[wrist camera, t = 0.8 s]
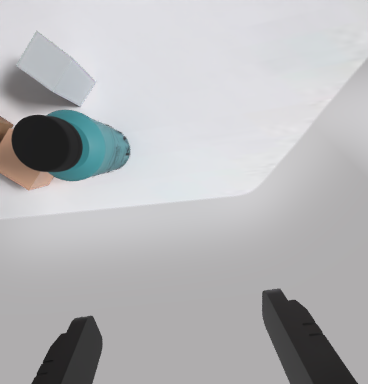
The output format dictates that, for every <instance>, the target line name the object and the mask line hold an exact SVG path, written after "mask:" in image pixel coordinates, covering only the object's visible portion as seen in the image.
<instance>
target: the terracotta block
mask: <svg viewBox="0 0 368 384" xmlns="http://www.w3.org/2000/svg"><path fill="white" fill-rule="evenodd" d="M13 130H14V129H12V128H9V130H8V131H7V133H6V135H5V136H4V138H3V140H2V141H1V143H0V173H1V174H3V175H4V176H6V177H7V178H9V179H11V180H12V181H14V182H16V183H17V184H19V185H21V186H22V187H24V188H26V189H27V190H32V189H36V188H39V187H43V186H47V185H49V183H50V182H51V180H52V179H53V177H54V176H52V175H51V174H49V173H48V172H40V171H36V170H33V169H31V168H29V167H27V166H26V165H24V164H23V163H22V162H21V161H20V160H19V159H18V158H17V156H16V155H15V153H14V150H13V147H12V142H11V138H12V132H13Z"/></svg>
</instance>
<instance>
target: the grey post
mask: <svg viewBox="0 0 368 384" xmlns="http://www.w3.org/2000/svg"><path fill="white" fill-rule="evenodd" d="M16 66H17V67H18V68H20V69H21V70H23V71H24V72H25V73H27V74H28V75H30V76H31V77H32V78H34V79H35V80H37V81H38V82H39V83H41V84H42V85H44V86H45V87H46V88H48V89H49V90H51V91H52V92H54V93H56V94H57V95H59V96H61V97H63V98H65V99H67V100H69V101H71V102H72V103H74V104H76V105H78V106H80V107H81V105H82V104H83V102H84V101H85V99H86V97H87V96H88V94H89V93H90V91H91V90H92V88H93V86H94V85H95V83H96V81H95V80H94V79H93V78H92V77H91V76H90V75H89V74H88V73H87V72H86V71H85V70H84V69H83V68H82V67H81V66H80V65H79V64H78V63H77V62H76V61H75V60H74V59H73V58H72V57H71V56H69V55H68V54H67V53H65V52H64V51H63V50H62V49H60V48H59V47H58V46H56V45H55V44H54V43H52V42H51V41H50V40H48V39H47V38H46V37H44V36H43V35H42V34H40V33H39V32H38V31H36V33H35V34H34V36H33V38H32V39H31V41H30V43H29V45H28V46H27V48H26V50H25V51H24V53H23V55H22V57H21V58H20V60H19V62H18V63H17V65H16Z"/></svg>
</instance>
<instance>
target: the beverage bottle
mask: <svg viewBox="0 0 368 384" xmlns="http://www.w3.org/2000/svg"><path fill="white" fill-rule="evenodd" d="M98 121H99V120H98ZM104 124H105V123H104ZM104 124H102V123H100V122H97V121H95V120H93V119H91V118H89V117H88V116H86V115H84V114H82V113H79V112H77V111H72V110H59V111H55V112H52V113H50V114H48V115H47V116H44V115H32V116H28V117H26V118H23V119H22V120H20V121H19V122H18V123H17V125H16V126H15V128H14V130H13V132H12V138H11V142H12V147H13V150H14V153H15V155H16V156H17V158H18V159H19V160H20V161H21V162H22V163H23V164H24V165H26V166H27V167H29V168H31V169H33V170H36V171H40V172H48V173H49V174H51V175H52V176H54V177H56V178H59V179H62V180H66V181H79V180H83V179H86V178H88V177H91V176H96V175H99V174H102V173H103V174H104V173H106V172H107V173H108V172H109V171H112V170H115V169H116V170H117V169H120V167H122V166H124V164H125V163H126V162H127V160H128V158H130V157H129V155H130V154H131V153H130V147H129V146H130V145H129V143H128V141H127V138H126V137H125V136H123V135H124V134H123V135H122V132H119V131H116V130H114V128H113V129H112V128H110V127H111V126H110V127H108V126H109V125H108V126H107V125H104ZM116 170H115V171H116Z"/></svg>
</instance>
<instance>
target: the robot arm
mask: <svg viewBox="0 0 368 384" xmlns="http://www.w3.org/2000/svg"><path fill="white" fill-rule="evenodd" d="M262 315H263V320H264V324H265V326H266V329H267V331H268V333H269V336H270V338H271V340H272V343H273V345H274V348H275V350H276V352H277V354H278V357H279V358H280V361H281V363H282V366H283V368H284V370H285V373H286V375H287V377H288V380H289V382H290V384H358V383H357V382H356V381H355V379H354V378H353V376H352V375H351V373H350V372H349V370H348V369H347V368H346V366H345V365H344V363H343V362H342V360H341V359H340V357H339V356H338V354H337V353H336V352H335V350H334V349H333V347H332V346H331V344H330V343H329V341H328V340H327V338H326V337H325V335H323V333H322V331H321V329H320V328H319V326H318V325H317V324H316V323H315V321H314V319H313V318H312V316H311V315H310V313H309V312H308V310H307V309H306V308H305V307H303V306H302V305H301V304H300V303H299V302H297V301H296V300H289V301H288V300H287V298H286V297H285V295H284V294H283V292H282V291H281V289H272V290H266V291H263V293H262ZM101 351H102V336H101V334H100V331H99V329H98V327H97V325H96V322H95V320H94V318H93V316H87V317H80V318H75V319H74V320H73V321H72V322H71V324H70V326H69V329H68V330H67V333H64V334H61V335H60V336H59V337H58V338H57V340H56V341H55V342H54V343H53V345H52V346H51V347H50V349H49V351H48V353H47V355H46V357H45V359H44V360H43V364H41V366H40V368H39V370H38V372H37V376H36V377H35V378H34V380H33V382H32V384H92V383H93V379H94V376H95V372H96V369H97V365H98V362H99V358H100V355H101Z"/></svg>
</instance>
